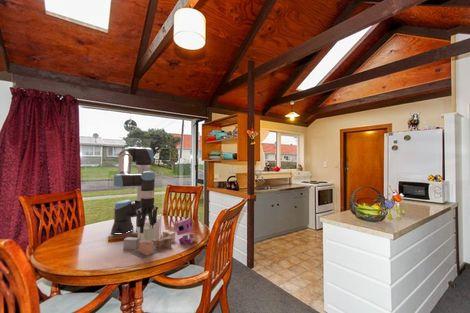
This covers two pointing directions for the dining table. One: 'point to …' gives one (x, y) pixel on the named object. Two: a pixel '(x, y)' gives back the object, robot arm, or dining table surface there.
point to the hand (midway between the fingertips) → (146, 237)
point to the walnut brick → (163, 243)
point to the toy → (185, 230)
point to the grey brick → (131, 243)
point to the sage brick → (148, 233)
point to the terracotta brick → (146, 247)
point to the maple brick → (170, 234)
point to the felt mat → (144, 254)
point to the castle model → (156, 228)
